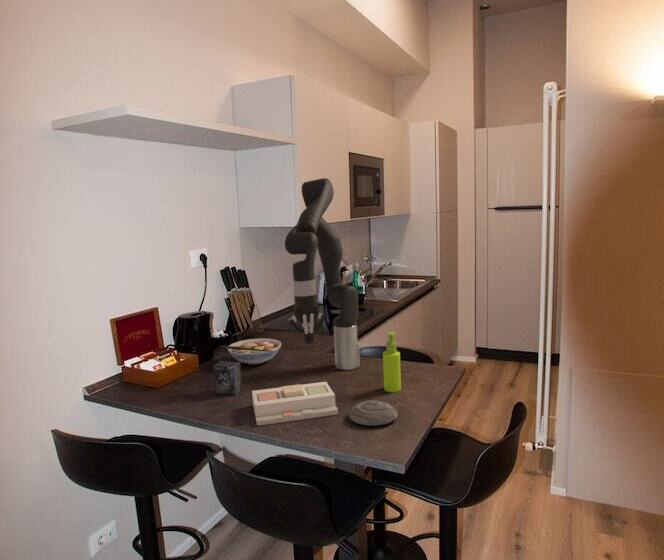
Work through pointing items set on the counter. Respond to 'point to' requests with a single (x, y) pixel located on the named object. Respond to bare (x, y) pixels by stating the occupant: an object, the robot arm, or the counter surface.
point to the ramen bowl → (253, 350)
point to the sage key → (316, 390)
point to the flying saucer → (372, 413)
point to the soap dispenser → (391, 366)
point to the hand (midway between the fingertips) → (309, 343)
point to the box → (227, 378)
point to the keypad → (294, 405)
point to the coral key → (267, 396)
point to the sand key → (292, 391)
